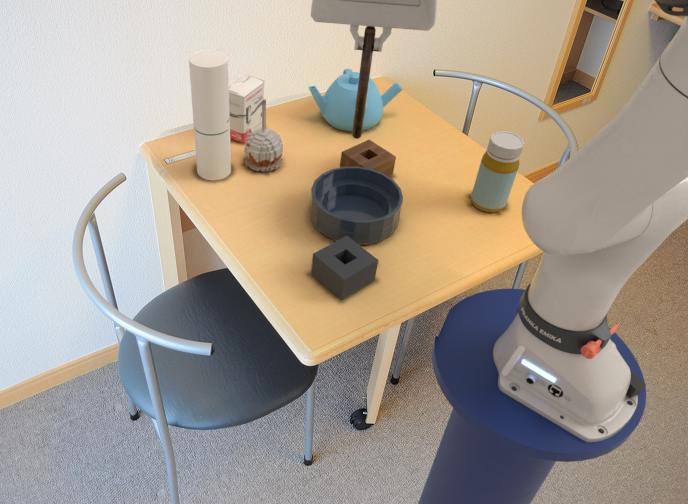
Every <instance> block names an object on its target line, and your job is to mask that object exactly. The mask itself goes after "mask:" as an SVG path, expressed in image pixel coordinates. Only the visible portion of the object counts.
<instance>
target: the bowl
mask: <svg viewBox="0 0 688 504" xmlns="http://www.w3.org/2000/svg"><path fill="white" fill-rule="evenodd" d="M403 199H404V195H403V191H402V189H401V187H400V186H399V185H398V183H397V182H396V181H395V180H394V179H393V178H392V177H388V176H387V175H385V174H384V173H381V172H378V171H376V170H373V169H369V168H364V167H340V166H339V167H335V168H331V169H329V170H327V171H325V172H323V173H321V174H320V175H319V176H318V177H317V178H316V179H314V181H313V184H312V186H311V189H310V199H309V200H310V201H309V218H310V221H311V223H312V225H313V227H315V229H316V230H318V231H319V232H320V233H321V234H322V235H323V236H325V237H327V238H329V239H332V240H334V241H337V240H339V239H341V238H343V237H345V236H348V237H350V238H351V239H352V240H353V241H355V242H356V243H357V244H359V245H370V244H374V243H379V242H382V241H383V240H385V239H386V238H387V239H388V238H389V237H391V236H392V234H394V232H395V231H396V230H397V228H398V225H399V222H400V221H399V220H400V216H401V211H402V206H403V202H404V201H403Z"/></svg>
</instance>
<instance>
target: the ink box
mask: <svg viewBox="0 0 688 504" xmlns="http://www.w3.org/2000/svg"><path fill="white" fill-rule="evenodd" d="M263 99H265V80H263V79H261V78H259V77H255V76H252V75H249V74H246V75H243V76H242V77H240V79H238V80H237V81H235V82H234V83H233V84H231V85H229V113H230V140H233V141H237V142H240V143H242V144H244V143H245V142H246V141H247V138H248V137H249V134H250V133H252V132H253V131H254V130H256V129H257V128H259V129H260V128H262V100H263Z"/></svg>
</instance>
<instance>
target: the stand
mask: <svg viewBox="0 0 688 504" xmlns="http://www.w3.org/2000/svg"><path fill="white" fill-rule="evenodd" d="M311 259H312V261H311V271H310V274H311V275H312V276H313V277H314V278H315V279H316V280H317V281H318V282H320V283H321V284H322V285H323V286H324V287H325V288H326V289H328V290H329V291H331V293H332V294H333V295H334V296H336V297H337V298H338V299H339V300H340V301H343V300H345V299H346V298H348V297H350V296H352V295H353V294H355V293H356V292H358V291H360V290H361V289H363V288H364V287H366V286H368V285H370V284H371V283H373V282H375V281H376V276H377V270H378V265H379V259H378V258H377V257H375V255H373V254H371V252H369V251H368V250H366V249H365V248H364V247H362V246H361V244H357V243H356V242H355V241H353V240H352V239H351V238H350V237H348V236H345V237H343V238H341V239H339V240H337V241H336V240H334V242H332V243H330V244H328V245H326V246H325V247H323V248H320V249H318V250H317V251H315V252H313V253H312V258H311Z"/></svg>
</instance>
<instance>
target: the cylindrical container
mask: <svg viewBox="0 0 688 504" xmlns="http://www.w3.org/2000/svg"><path fill="white" fill-rule="evenodd" d="M188 56H189V57H188V64H189V65H188V66H189V67H188V68H189V80H190V95H191V106H192V107H191V109H192V122H193V134H194V135H193V136H194V148H195V162H196V164H195V165H196V172H197V175H198V176H199V177H200V178H202V179H204V180H207V181H220V180H224V179H226V178H227V177H229V175H231V173H232V153H231V152H232V151H231V150H232V149H231V146H232V145H231V138H230V113H229V87H230V83H229V82H230V81H229V80H230V79H229V57H228V55H227V54H226V53H225V52H223V51H220V50H217V49H211V48H208V49H207V48H206V49H199V50H197V51H194V52H192V53H191V54H190V55H188Z"/></svg>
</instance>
